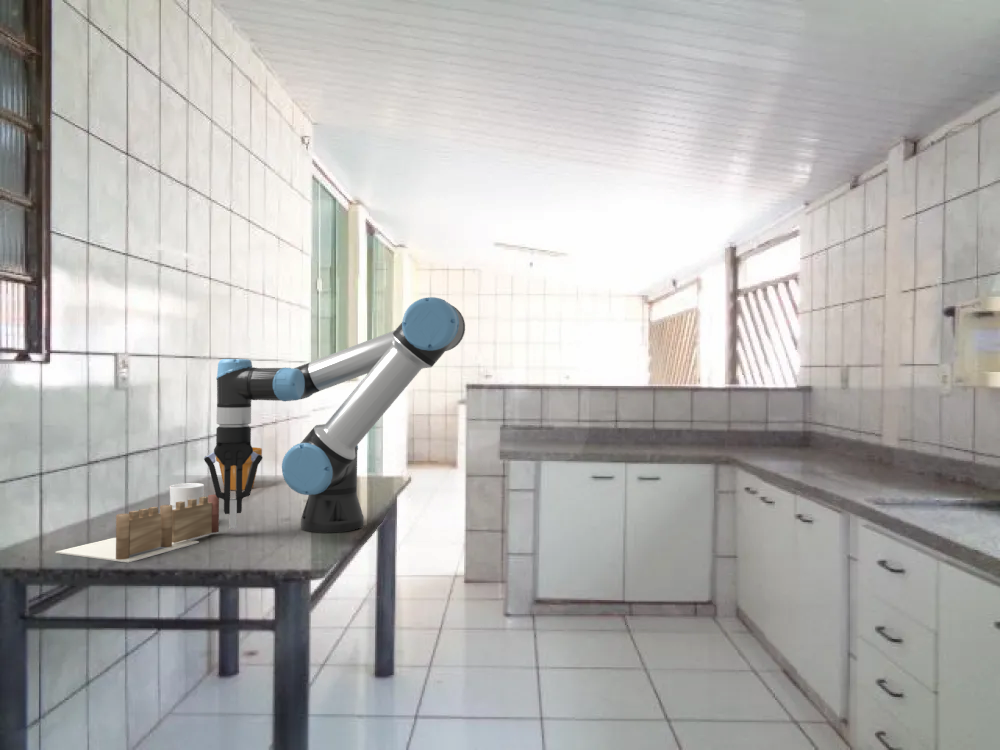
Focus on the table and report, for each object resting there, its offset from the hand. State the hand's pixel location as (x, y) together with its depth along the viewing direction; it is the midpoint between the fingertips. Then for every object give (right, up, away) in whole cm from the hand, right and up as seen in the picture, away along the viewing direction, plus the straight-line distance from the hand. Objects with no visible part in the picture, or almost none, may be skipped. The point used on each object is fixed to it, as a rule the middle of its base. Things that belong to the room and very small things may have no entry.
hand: (232, 527), depth 172 cm
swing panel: (-7, -1, -4) cm, 8 cm away
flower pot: (-24, -2, +71) cm, 75 cm away
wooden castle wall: (-12, -2, -17) cm, 21 cm away
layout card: (-18, -2, -13) cm, 22 cm away
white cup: (-15, -2, +11) cm, 19 cm away
